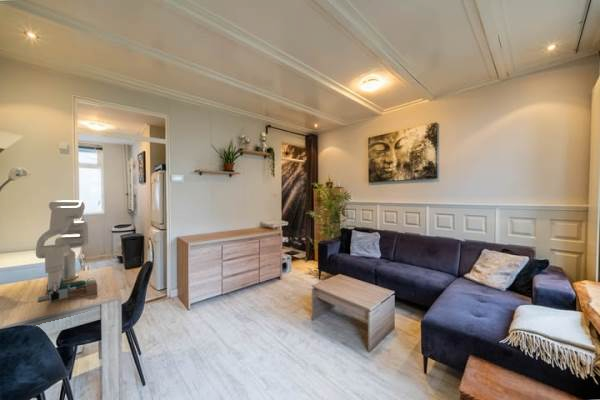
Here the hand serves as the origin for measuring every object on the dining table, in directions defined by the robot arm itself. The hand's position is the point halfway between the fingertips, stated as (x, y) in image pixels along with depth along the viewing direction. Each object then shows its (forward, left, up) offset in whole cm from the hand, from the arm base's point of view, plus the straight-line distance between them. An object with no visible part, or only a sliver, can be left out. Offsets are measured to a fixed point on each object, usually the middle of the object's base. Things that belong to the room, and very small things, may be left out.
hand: (54, 298), depth 135 cm
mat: (-7, -3, -1) cm, 7 cm away
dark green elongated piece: (-20, +5, -1) cm, 21 cm away
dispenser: (0, +12, -1) cm, 12 cm away
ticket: (0, +3, -1) cm, 3 cm away
